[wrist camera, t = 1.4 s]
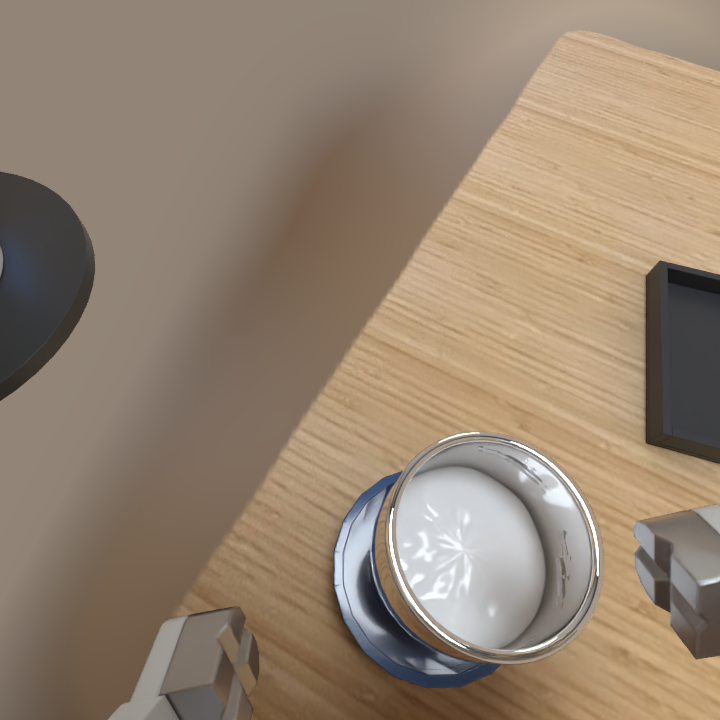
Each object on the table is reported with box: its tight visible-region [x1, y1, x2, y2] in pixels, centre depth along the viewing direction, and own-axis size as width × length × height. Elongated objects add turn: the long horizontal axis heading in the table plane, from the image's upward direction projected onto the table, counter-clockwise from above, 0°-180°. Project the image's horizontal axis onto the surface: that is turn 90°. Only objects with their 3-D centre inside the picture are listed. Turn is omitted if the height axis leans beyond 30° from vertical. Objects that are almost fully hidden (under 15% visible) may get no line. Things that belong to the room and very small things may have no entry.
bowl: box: [334, 471, 501, 688], centre depth 25 cm, size 10×10×4 cm
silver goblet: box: [369, 432, 605, 665], centre depth 20 cm, size 7×7×15 cm
